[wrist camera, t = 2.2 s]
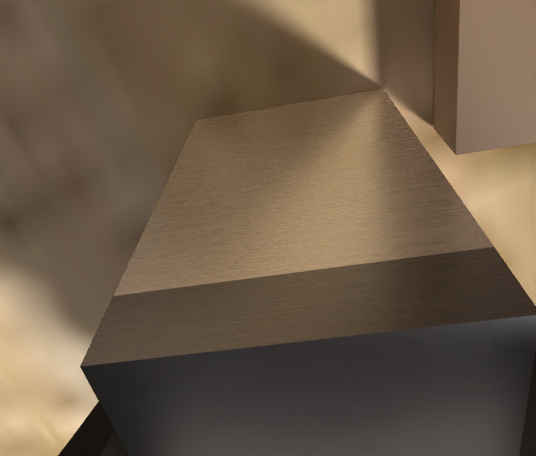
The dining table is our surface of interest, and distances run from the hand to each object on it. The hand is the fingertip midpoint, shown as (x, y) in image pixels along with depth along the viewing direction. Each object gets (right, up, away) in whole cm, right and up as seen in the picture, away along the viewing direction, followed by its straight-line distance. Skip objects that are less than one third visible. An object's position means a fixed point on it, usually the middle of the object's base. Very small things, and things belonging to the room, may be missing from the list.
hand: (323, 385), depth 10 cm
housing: (0, +2, +3) cm, 3 cm away
